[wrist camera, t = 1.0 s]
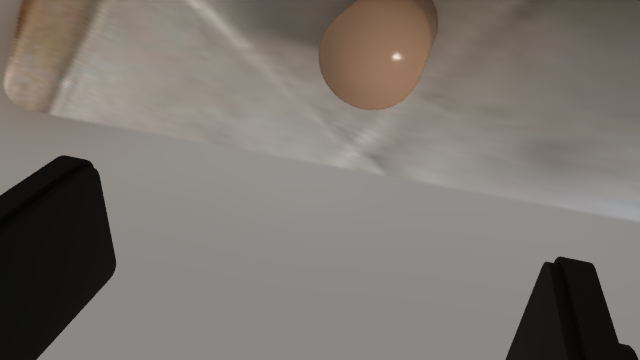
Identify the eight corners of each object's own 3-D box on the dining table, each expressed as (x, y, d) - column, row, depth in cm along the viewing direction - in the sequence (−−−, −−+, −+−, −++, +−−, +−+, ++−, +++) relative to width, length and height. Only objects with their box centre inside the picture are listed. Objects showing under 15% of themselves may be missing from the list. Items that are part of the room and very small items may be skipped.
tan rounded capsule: (440, -22, 28) (424, 4, 22) (436, 67, 30) (420, 112, 24) (351, -20, 29) (314, 6, 23) (354, 65, 31) (322, 107, 26)
